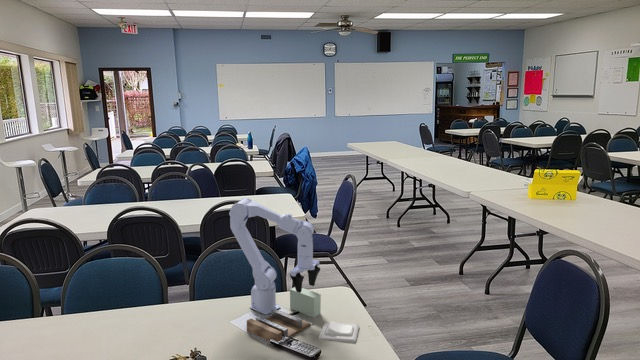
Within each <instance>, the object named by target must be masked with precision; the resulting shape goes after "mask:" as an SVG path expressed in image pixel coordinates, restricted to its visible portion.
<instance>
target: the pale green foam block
mask: <svg viewBox="0 0 640 360" xmlns="http://www.w3.org/2000/svg"><path fill="white" fill-rule="evenodd" d="M321 296H322V295H321V293H318V292H315V291H313V290H309V289H306V288H304V287H302V291H301V292H300V293H299V292H297V291H296V289H295V286H294V287H291V288H290V289H289V303H290V304H289V307H290V308H289V309H291V310H293V311H295V312H298V311H299V312H298V313H301V314H304V315H306V316H309V317H311V318H317V317H318V316H320V315H321V314H322V313H321V309H322V308H321V305H322V304H321V300H322V299H321V298H322V297H321Z"/></svg>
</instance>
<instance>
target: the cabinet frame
mask: <svg viewBox="0 0 640 360" xmlns="http://www.w3.org/2000/svg"><path fill="white" fill-rule="evenodd" d="M311 325H312V324H311V322H309V321H307V320H304V319H301V318H298V317H296V316H295V315H294V316H293V315H292V314H289V313H286V312H283V311H281V310H278V309H277V310H276V309H273V310H271V313H270V316H268V317H266V318H264V317H262V316H257V317H255V319H253V318H249V319H246V332H248V333H249V334H250V333H251V334H252V335H255V336H256V337H259V338H260V339H263V340H264V341H265V340H266V341H268V342H269V341H270V339H273V340H275V341H277V342H278V341H280V340H282V336H284V337H285V336H287V337H291V338H292V337H294V336H296V335H298V334H299V333H301V332H302V331H304V330H306V329H308V328H309V327H311Z"/></svg>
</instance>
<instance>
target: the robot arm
mask: <svg viewBox="0 0 640 360" xmlns="http://www.w3.org/2000/svg"><path fill="white" fill-rule="evenodd" d="M228 215H229V221H230V222H229V224H230V230H231V232H232V234H233V235H234V237H235V239H236V241H237V243H238V244H239V246H240V249H241V250H242V251H243V253H244V255H245V257H246V259H247V261H248V263H249V265H250V266H251V268H252V276H253V279H254V285H253V286H252V288H251V290H250V303H251V305H250V306H249V309H252V310H255V311H257V312H259V313H261V314H263V315H266V316H267V315H269V314H271V310H273V309H276V310H278V309H280V308H282V307H281V305H278V304H277V301H276V298H277V296H276V292H277V291H276V283H275V280H276V279H277V275H278V274H277V271H276V270H275V268H274V267H272V266H271V265H270V263H269V262H268V261H266V260H265V259H264V257H263V255H262V254H261V251H260V250H259V248H258V246H257V244H256V242H255V241H254V239H253V237H252V235H251V233H250V231H249V230H248V228H247V226H246V224H247V221H248V218H252V217H253V218H254V217H257V216H258V217H260V218H263V219H265V220H268V221H271V222H272V223H276V224H277V225H278V228H279V229H281V230H283V231H286V232H288V233H290V234H292V235H294V236H296V238H297V265H296V266H295V267H294V268H292V269H291V270H290V273H289V277H290V279H291V280H292V282H293V285H294V287H295V289H296V291H297V292H299V293H300V292H301V291H302V288H303V281H304V278H305V276H304V275H302V274H301V273H304V272H306V271H307V276H308V285H309V286H311V287H314V286H315V284H316V281H317V277H318V275H319V273H320V271H321V267H319V266H320V260H318V259H314V257H313V256H314V241H313V240H314V239H313V233H314V232H315V228H314V225H313V224H312V223H311V222H310V221H308V220H305V221H304V220H303V219H298V218H296V217H293V214H290V213H288V214H287V213H283V214H279V213H278V212H276V211H274V210H272V209H269V208H268V207H266V206H264V205H262V204H260V203H259V202H257V201H255V200H252V199H250V198H247V197H244V198H242V199H240V200H239V201H238V202H236V203H234V204H233V205H232V206H231V207H230V210H229V213H228Z"/></svg>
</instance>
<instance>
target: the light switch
mask: <svg viewBox="0 0 640 360" xmlns="http://www.w3.org/2000/svg"><path fill="white" fill-rule="evenodd" d="M359 329H360V325H359V324H357V323H343V322H342V323H341V322H339V323H338V322H337V321H333V320H332V321H330V322H325V323H323V326H322V329H321V332H320V333H319V337H318V340H325V341H335V342H342V343H354V344H355V343H356V342H357V339H358V334H359Z"/></svg>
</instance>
